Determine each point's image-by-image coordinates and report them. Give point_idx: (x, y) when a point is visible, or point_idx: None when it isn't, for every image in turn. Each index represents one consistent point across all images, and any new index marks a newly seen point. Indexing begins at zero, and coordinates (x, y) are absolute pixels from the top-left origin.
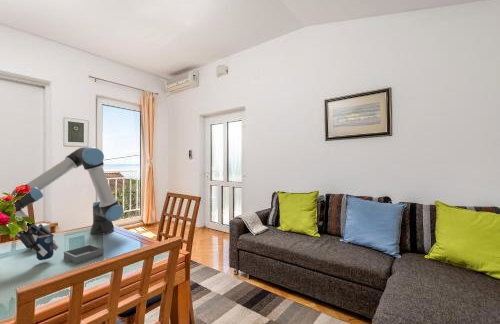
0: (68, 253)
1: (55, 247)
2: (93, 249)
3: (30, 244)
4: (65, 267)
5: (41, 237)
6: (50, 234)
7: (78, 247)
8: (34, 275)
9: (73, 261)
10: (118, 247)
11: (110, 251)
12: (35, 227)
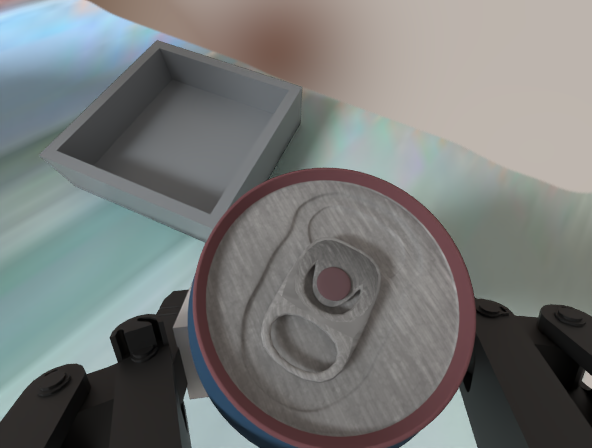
0: (248, 167)
1: None
2: (114, 126)
3: (582, 319)
4: (344, 142)
5: (390, 309)
6: (212, 244)
7: (116, 187)
8: (469, 218)
9: (289, 134)
10: (53, 68)
11: (117, 73)
12: None
